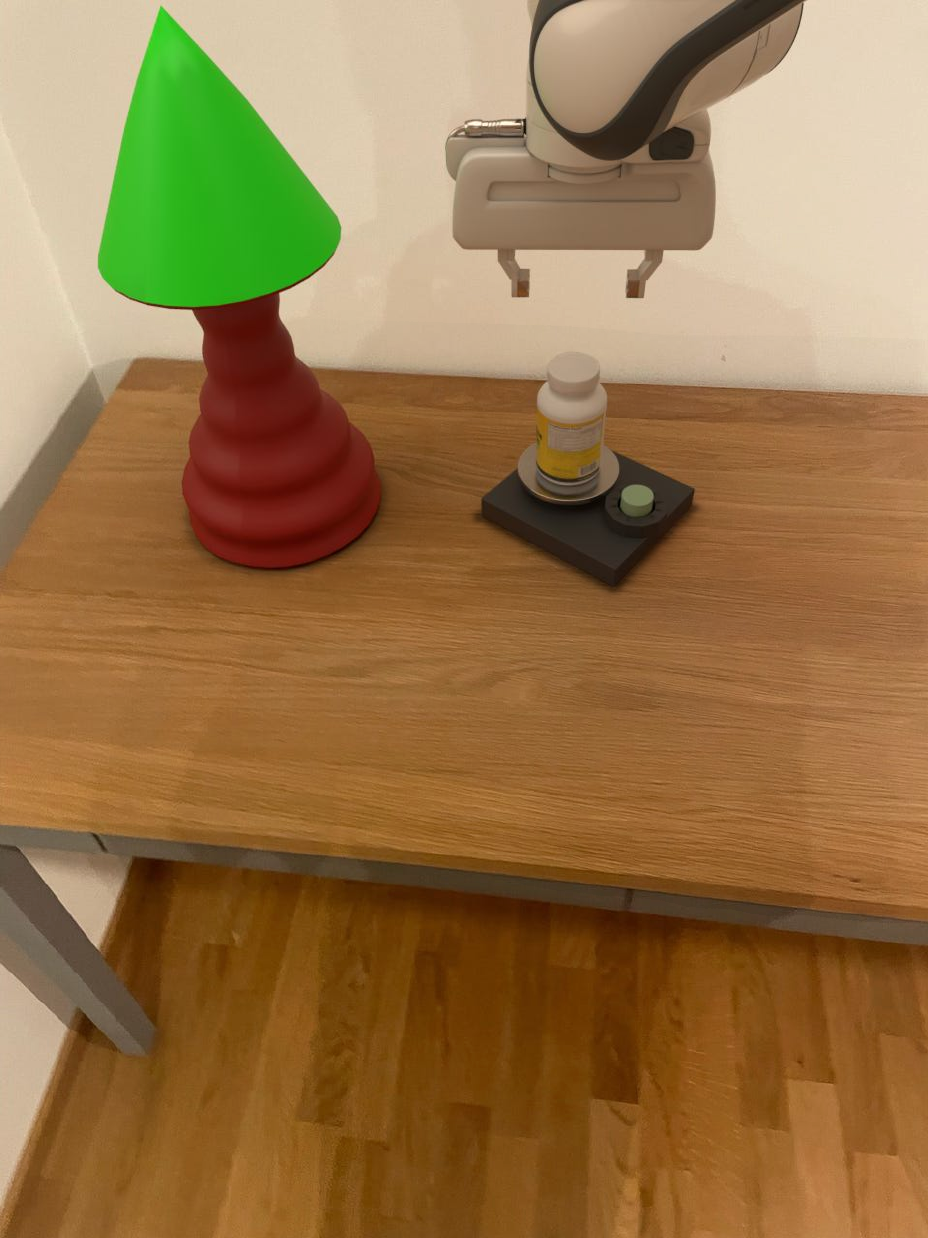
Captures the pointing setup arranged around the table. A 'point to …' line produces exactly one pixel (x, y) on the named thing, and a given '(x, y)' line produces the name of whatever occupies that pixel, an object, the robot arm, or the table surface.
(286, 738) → the table surface
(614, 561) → the scale
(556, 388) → the pill bottle
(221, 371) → the table lamp
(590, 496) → the scale pan
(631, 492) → the button
